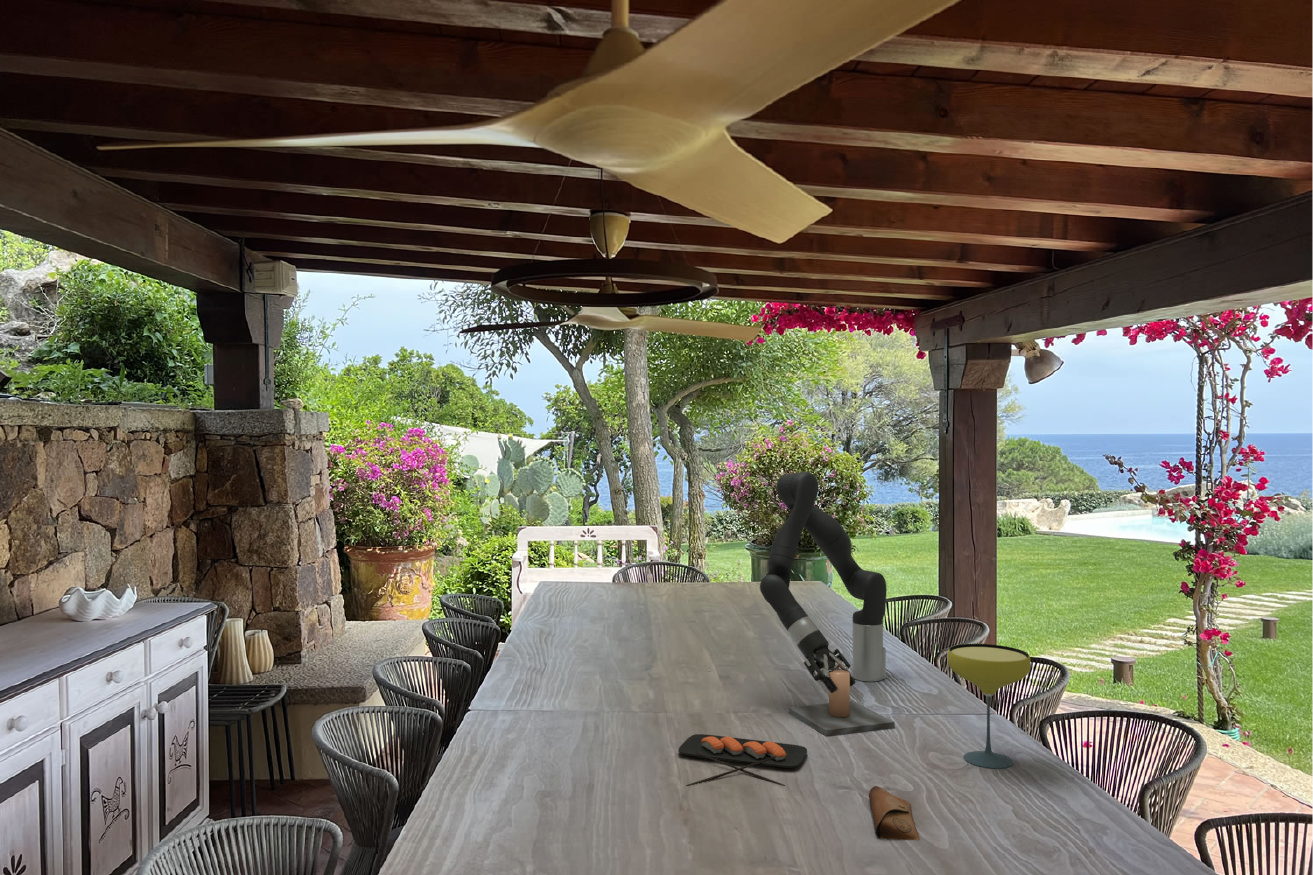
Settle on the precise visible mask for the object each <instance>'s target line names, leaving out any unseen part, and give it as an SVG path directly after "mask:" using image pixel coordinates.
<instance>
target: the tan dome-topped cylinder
mask: <svg viewBox="0 0 1313 875" xmlns="http://www.w3.org/2000/svg"><path fill="white" fill-rule="evenodd" d="M848 671H849V670H848ZM848 671H845V670H841V669H840V670H828V677H830V678H831V679H832V681H833V682H834V683H835V685H836V686H837V690H836V691H835V692H834V693H831V692H830V691H829V690H828V703H829V715H831V716H834V717H848V716H850V701H851V689H850V688H851V687H850V674H851V672H848Z"/></svg>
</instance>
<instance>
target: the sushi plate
mask: <svg viewBox="0 0 1313 875" xmlns="http://www.w3.org/2000/svg"><path fill="white" fill-rule="evenodd" d="M678 753H679V754H681V755H684V756H691V757H697V758H704V759H709V760H711V761H714V762H716V763H720V764H722V765H725V766H728V767H730V768H732V769H733V770H729V771H726V772H723V773H722V772H721V773H719V774H717V775H714V776H710V777H707V778H704V779H701V780H697V781H695V782H691V783H688V784H686V785H685V786H686V787H689V786H694V785H698V783H699V784H703V783H702V782H704V783H707V781H708V782H710V780H711V781H713V780H716V779H719V778H721V777H725V776H727V775H729V774H732V773H735V772H739V771H740V772H742V773H745V774H747V775H750V776H752V777H754V778H757V779H760V780H763V781H766V782H769V783H772V784H776V785H779V786H782V787H785V786H786V785H785V784H783V783H780V782H778V781H775V780H773V779H770V778H767V777H765V776H763V775H759V774H757V773H754V772H751V771H748V770H746V769H747V768H750V767H753V766H756V765H761V766H768V767H776V768H785V769H786V768H787V769H788V768H790V769H791V768H792V769H794V768H798V767H799V766H800V765H801V764H802V763H803V761H804V759H805V758H806V755H807V753H808V750H807V747H806V746H802V745H798V744H793V743H792V744H791V743H783V742H776V741H775V742H774V741H765V740H758V739H750V738H749V739H748V738H741V737H740V738H739V737H733V736H722V735H715V734H704V733H702V734H701V733H699V734H698V733H696V734H695V733H694V734H692V735H690V736H689V737H688V738H687V739H685V740H684V742H682V744H680V746H679V747H678ZM721 760H722V761H721ZM725 761H729V762H734V763H735V762H737V763H742V764H743V763H745V764H747V765H744V766H741V767H738V766H735V765H732V764H729V763H727V762H725Z"/></svg>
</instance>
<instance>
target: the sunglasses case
mask: <svg viewBox="0 0 1313 875" xmlns="http://www.w3.org/2000/svg"><path fill="white" fill-rule="evenodd" d="M868 800H869V801H868V802H869V804H870V810H871V816H872V821H873V828H874V831H875V834H876V836H877V837H878V839H884V840H885V839H887V840H903V841H904V840H906V841H920V840H921V839H920V835H919V832H918V830H917V827H916V826H917V825H916V823H915V821H914V817H913V813H912V812H913V811H912V805H911V804H912V803H911V802H910V801H908V800H905V799H902V798H900V797H898V796H896V795H893V794H892V793H891V792H889V791H887V790H886V789H884V788H882V787H880V786H878V785H874V786H872V788H871V789H870V790H869V793H868Z"/></svg>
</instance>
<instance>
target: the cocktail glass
mask: <svg viewBox="0 0 1313 875" xmlns="http://www.w3.org/2000/svg"><path fill="white" fill-rule="evenodd" d="M946 656H947V663H948V666H949V668H950V669H951V670H952V671H953V672H954V673H955V674H956V675H958V676H959V677H960V678H963V679H964V680H965V681H968V682H970V683H972V684H973V685H975V686H977V687H978V689H980V691H981V693H982V694H983V695H984V696H986V741H985V742H986V743H985V744H986V745H985V750H975V751H969V752H966V753H964V755H963V759H964V760H965V761H966V762H967V763H969V764H970V765H973V766H976V767H980V768H985V769H996V770H997V769H999V770H1000V769H1001V770H1002V769H1007V768H1010V767H1012V766H1013V765H1014V760H1013V759H1012V758H1011V757H1009V756H1007V755H1005V754H1002V753H999V752H994V751H992V747H991V746H992V744H991V715H990V714H991V709H990V708H991V697H992V696H994V695H995V694H996V693H997V691H998V690H999V689H1002V688H1003V687H1006V686H1009V685H1011V684H1014V683H1017V682H1018V681H1021V680H1023V679H1024V678H1025V677H1026V676H1028V675H1029V674H1030V671H1031V666H1032V665H1031V663H1032V662H1031V655H1030V654H1029V653H1028V652H1026V651H1024V650H1022V649H1018V648H1016V647H1011V646H1006V645H1001V644H992V643H990V644H989V643H962V644H955V645H952V646H950V647H949V648H948V650H947V655H946Z"/></svg>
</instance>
